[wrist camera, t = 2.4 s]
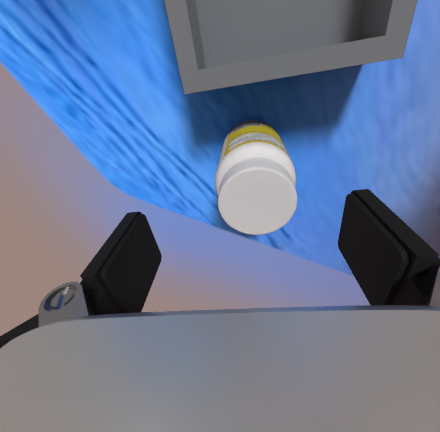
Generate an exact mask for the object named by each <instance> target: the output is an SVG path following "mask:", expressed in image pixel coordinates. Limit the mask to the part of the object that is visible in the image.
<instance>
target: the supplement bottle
mask: <svg viewBox="0 0 440 432" xmlns="http://www.w3.org/2000/svg"><path fill="white" fill-rule="evenodd" d="M295 182H296V174H295V169H294V166H293V163H292V161H291V159H290V157H289V155H288V153H287V151H286V149H285V147H284V145H283V143H282V141H281V138H280V137H279V135H278V133H277V132H276V130H275V129H274V128H273V127H272V126H270V125H269V124H267V123H265V122H262V121H257V120H249V121H245V122H242V123H240V124H238V125H236V126H235V127H234V128H232V129H231V130H230V132H229V133H228V134H227V136H226V138H225V140H224V143H223V146H222V151H221V155H220V160H219V164H218V168H217V172H216V177H215V187H216V191H217V194H218V207H219V211H220V214H221V216H222V218H223V219H224V220H225V222H226V223H227V224H228V225H230V226H231V227H232V228H234V229H235V230H237V231H239V232H242V233H246V234H251V235H260V234H267V233H270V232H273V231H275V230H277V229H279V228H281V227H282V226H284V225H285V224H286V223H287V222H288V221H289V220H290V218H291V217H292V216H293V214H294V212H295V209H296V206H297V193H296V190H295Z"/></svg>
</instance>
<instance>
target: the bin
mask: <svg viewBox="0 0 440 432" xmlns="http://www.w3.org/2000/svg"><path fill="white" fill-rule="evenodd" d="M164 2H165V6H166V11H167V16H168V20H169V25H170V29H171V34H172V39H173V43H174V48H175V53H176V57H177V62H178V67H179V71H180V76H181V80H182V85H183V90H184V94H189V93H195V92H201V91H207V90H213V89H219V88H225V87H231V86H237V85H243V84H249V83H255V82H260V81H266V80H272V79H278V78H284V77H290V76H296V75H302V74H308V73H314V72H320V71H326V70H332V69H338V68H344V67H349V66H355V65H361V64H367V63H373V62H379V61H385V60H391V59H397V58H403V55H404V51H405V47H406V43H407V39H408V35H409V31H410V27H411V24H412V20H413V16H414V12H415V8H416V4H417V0H164Z"/></svg>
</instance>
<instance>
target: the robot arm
mask: <svg viewBox="0 0 440 432" xmlns="http://www.w3.org/2000/svg"><path fill="white" fill-rule="evenodd" d="M338 247H339V250H340V251H341V253H342V255H343V257H344V259H345V260H346V262H347V264H348V266H349V267H350V269H351V271H352V273H353V275H354V276H355V278H356V280H357V282H358V283H359V285H360V287H361V289H362V291H363V292H364V294H365V296H366V298H367V299H368V301H369V303H370V306H323V307H287V308H286V307H285V308H255V309H224V310H223V309H222V310H193V311H168V312H167V311H166V312H141V311H142V308H143V306H144V303H145V301H146V298H147V295H148V293H149V290H150V288H151V285H152V283H153V280H154V278H155V275H156V272H157V270H158V267H159V265H160V262H161V253H160V250H159V248H158V245H157V243H156V241H155V238H154V236H153V233H152V231H151V228H150V226H149V223H148V221H147V218H146V216H145V215H144V214H142V213H141V212H131V213H127V214H126V215H125V217H124V218H123V220H122V221H121V222H120V223H119V225H118V226H117V227H116V229H115V230H114V231H113V233H112V234H111V235H110V237H109V238H108V239H107V241H106V242H105V243H104V245H103V246H102V247H101V249H100V250H99V251H98V253H97V254H96V255H95V257H94V258H93V259H92V261H91V262H90V263H89V265H88V266H87V268H86V269H85V270H84V271H83V273H82V274H81V275H80V276H81V277H82V279H83V280H82V281H81V283H78V282H68V283H65V284H62V285H60V286H58V287H57V288H55V289H53V290H52V291H51V292H50V293H48V294H47V295H46V296H45V298H44V299H43V300H42V302H41V303H40V306H39V314H38V315H36V316H34V317H32V318H31V319H29V320H27V321H26V322H24V323H22V324H20V325H19V326H17V327H15V328H14V329H12V330H10V331H9V332H7V333H5V334H4V335H2V336H0V432H440V259H439V258H438V255H439V254H438V253H436V252H435V251H434V250H433V249H432V248H431V247H430V246H429V245H428V244H427V243H426V242H425V241H424V240H422V239H421V238H420V237H419V236H418V235H417V234H416V233H415V232H414V231H413V230H412V229H411V228H410V227H409V226H407V225H406V224H405V223H404V222H403V221H402V220H401V219H400V218H399V217H398V216H397V215H396V214H395V213H393V212H392V211H391V210H390V209H389V208H388V207H387V206H386V205H385V204H384V203H383V202H382V201H381V200H380V199H378V198H377V197H376V196H375V195H374V194H373V193H372V192H371V191H370V190H368V189H364V190H354V191H352V192H351V194H348V195H347V197H346V201H345V207H344V212H343V217H342V223H341V228H340V234H339V239H338Z"/></svg>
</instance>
